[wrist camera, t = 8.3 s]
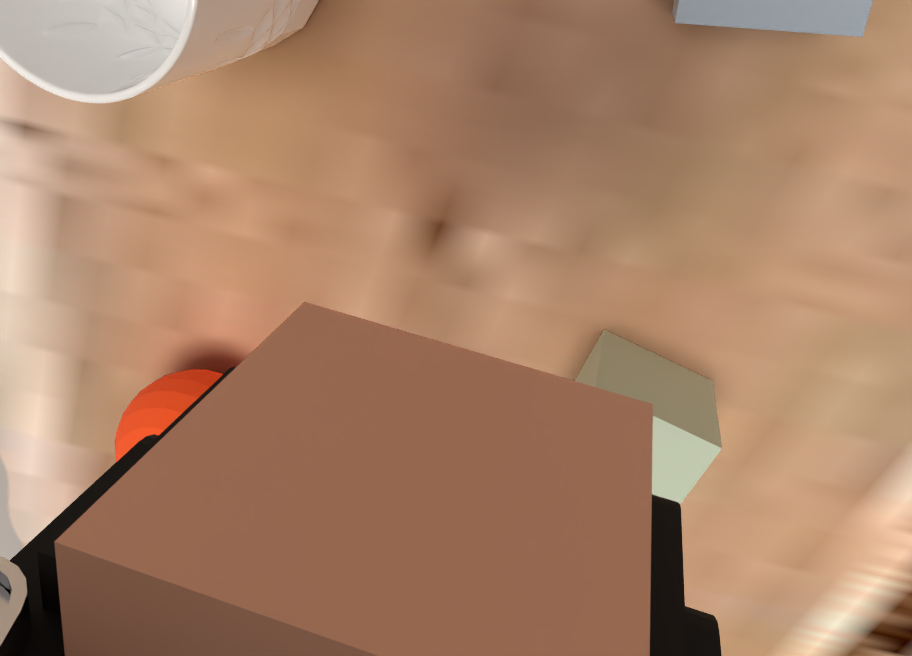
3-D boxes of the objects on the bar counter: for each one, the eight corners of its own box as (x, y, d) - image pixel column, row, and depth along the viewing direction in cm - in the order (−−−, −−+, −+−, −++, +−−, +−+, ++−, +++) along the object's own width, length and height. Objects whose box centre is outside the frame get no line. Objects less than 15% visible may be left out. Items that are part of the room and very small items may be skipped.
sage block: (604, 328, 31) (595, 388, 27) (712, 380, 31) (722, 448, 27) (553, 416, 34) (538, 483, 29) (654, 464, 34) (653, 539, 29)
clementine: (336, 408, 36) (270, 500, 30) (281, 494, 40) (211, 593, 34) (197, 317, 36) (101, 391, 30) (153, 412, 39) (59, 496, 33)
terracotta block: (304, 301, 11) (54, 541, 6) (653, 403, 10) (647, 750, 6) (277, 554, 13) (83, 857, 9) (557, 649, 12) (502, 1028, 8)
